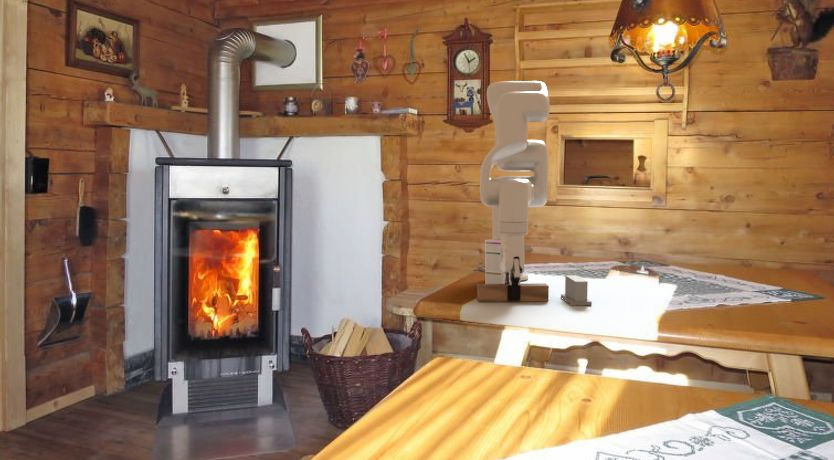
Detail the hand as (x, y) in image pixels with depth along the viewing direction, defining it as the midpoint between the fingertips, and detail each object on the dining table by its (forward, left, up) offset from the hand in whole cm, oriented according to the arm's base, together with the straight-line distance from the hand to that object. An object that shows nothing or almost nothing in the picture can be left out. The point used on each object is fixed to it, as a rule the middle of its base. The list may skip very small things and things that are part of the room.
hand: (512, 298), depth 183 cm
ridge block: (+2, +16, -1) cm, 16 cm away
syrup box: (-16, -1, -1) cm, 16 cm away
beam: (0, 0, 0) cm, 0 cm away
